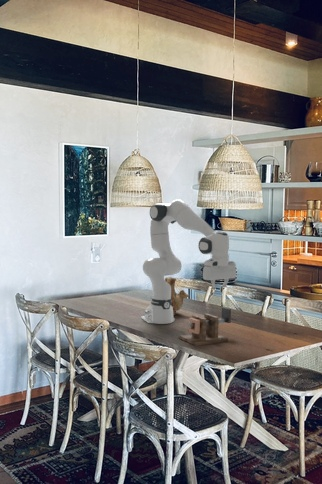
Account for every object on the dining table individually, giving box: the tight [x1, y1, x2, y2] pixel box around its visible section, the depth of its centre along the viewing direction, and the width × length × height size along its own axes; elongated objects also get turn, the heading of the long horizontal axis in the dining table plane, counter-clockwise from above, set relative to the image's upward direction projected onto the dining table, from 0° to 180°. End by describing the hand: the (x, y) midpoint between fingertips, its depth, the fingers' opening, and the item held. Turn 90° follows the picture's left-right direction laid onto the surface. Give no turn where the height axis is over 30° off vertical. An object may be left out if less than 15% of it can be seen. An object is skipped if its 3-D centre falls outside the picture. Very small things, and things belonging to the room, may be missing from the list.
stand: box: [178, 313, 229, 346], centre depth 276 cm, size 16×20×12 cm
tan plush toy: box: [164, 276, 190, 316], centre depth 337 cm, size 18×19×25 cm
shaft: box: [187, 306, 232, 328], centre depth 277 cm, size 6×25×8 cm, turn 121°
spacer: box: [188, 317, 200, 334], centre depth 273 cm, size 7×2×7 cm, turn 31°
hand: (219, 287), depth 279 cm, fingers open, 5 cm apart
